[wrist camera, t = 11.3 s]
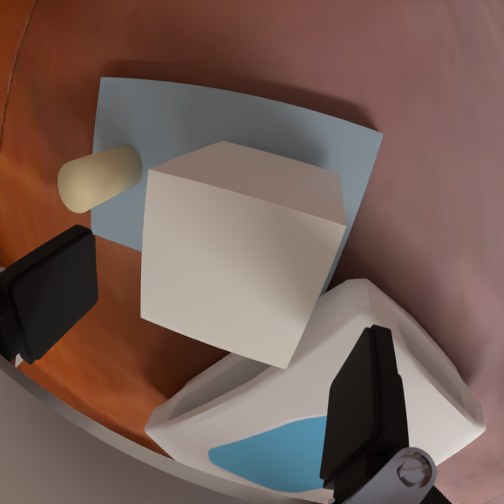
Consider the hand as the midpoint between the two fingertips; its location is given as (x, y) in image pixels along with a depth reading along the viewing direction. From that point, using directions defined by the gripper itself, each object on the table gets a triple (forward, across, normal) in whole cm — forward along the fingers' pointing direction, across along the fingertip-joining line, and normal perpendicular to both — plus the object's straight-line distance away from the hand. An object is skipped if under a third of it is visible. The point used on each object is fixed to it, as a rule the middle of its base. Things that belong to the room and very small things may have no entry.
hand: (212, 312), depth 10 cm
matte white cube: (+9, 0, 0) cm, 9 cm away
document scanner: (+12, -9, +18) cm, 23 cm away
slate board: (+11, +4, 0) cm, 12 cm away
